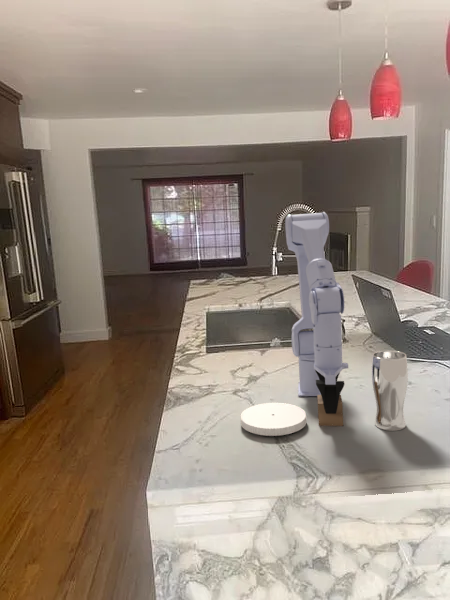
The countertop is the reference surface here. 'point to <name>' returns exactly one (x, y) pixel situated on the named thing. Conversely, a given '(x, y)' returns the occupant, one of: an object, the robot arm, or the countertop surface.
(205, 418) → the countertop surface
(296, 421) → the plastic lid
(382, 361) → the beer glass
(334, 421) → the walnut cube
